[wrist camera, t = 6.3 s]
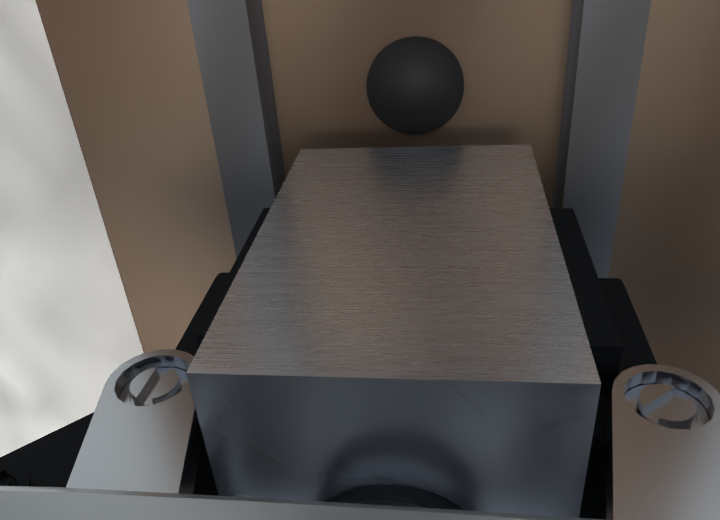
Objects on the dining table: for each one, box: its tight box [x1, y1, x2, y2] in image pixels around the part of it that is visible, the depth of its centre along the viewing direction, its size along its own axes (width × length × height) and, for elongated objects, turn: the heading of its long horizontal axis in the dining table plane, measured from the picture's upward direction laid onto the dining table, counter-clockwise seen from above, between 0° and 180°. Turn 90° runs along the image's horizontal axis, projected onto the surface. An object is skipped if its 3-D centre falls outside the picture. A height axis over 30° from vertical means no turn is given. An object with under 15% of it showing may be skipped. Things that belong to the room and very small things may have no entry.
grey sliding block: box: [186, 144, 601, 518], centre depth 10 cm, size 4×5×8 cm
